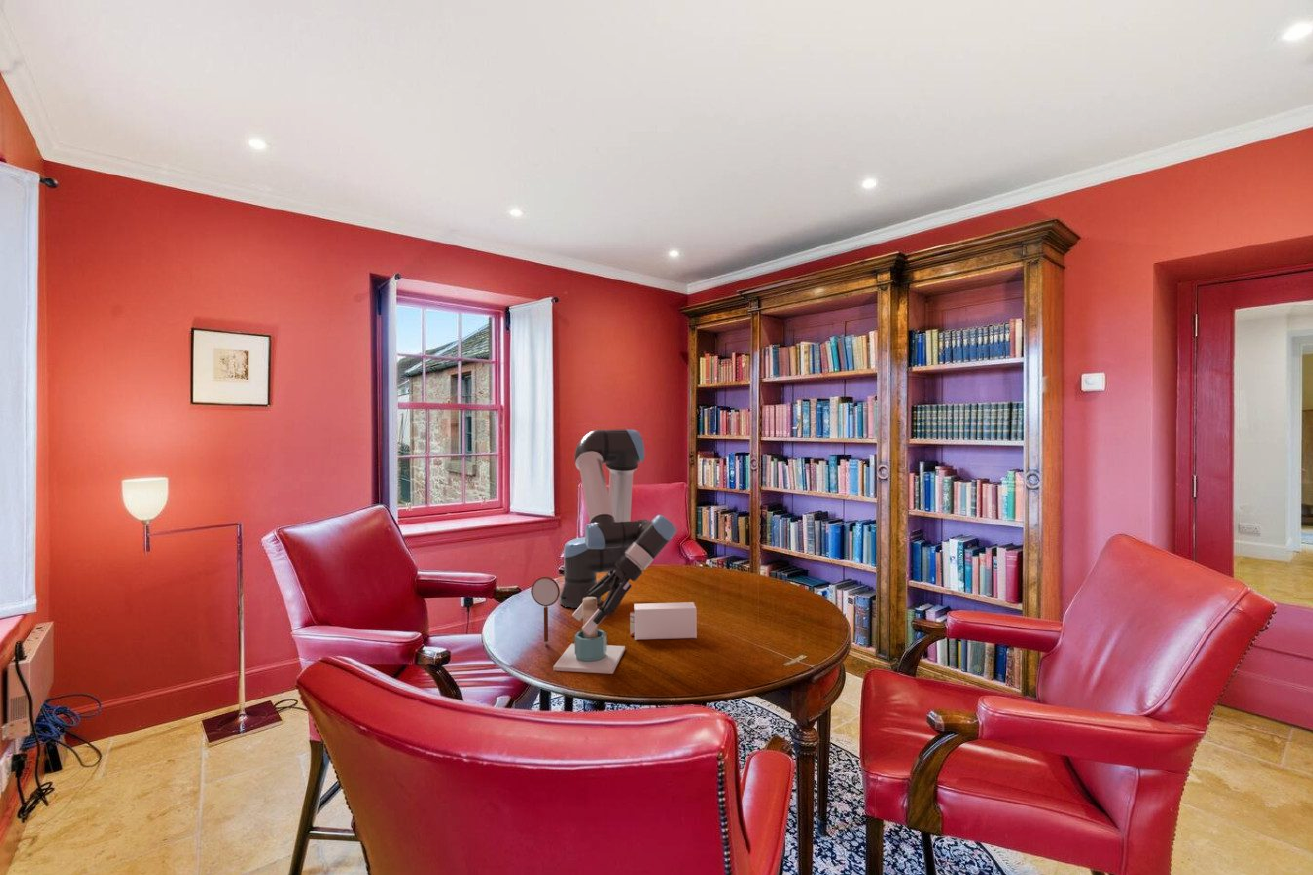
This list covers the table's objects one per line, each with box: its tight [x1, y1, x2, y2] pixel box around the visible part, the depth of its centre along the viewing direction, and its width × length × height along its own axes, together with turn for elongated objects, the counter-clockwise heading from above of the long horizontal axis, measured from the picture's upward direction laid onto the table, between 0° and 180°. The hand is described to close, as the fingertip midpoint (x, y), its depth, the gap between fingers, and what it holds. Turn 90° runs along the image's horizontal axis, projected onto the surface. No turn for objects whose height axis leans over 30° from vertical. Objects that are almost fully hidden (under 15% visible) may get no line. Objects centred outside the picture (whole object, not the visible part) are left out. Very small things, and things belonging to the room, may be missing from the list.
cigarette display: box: [629, 601, 698, 641], centre depth 169 cm, size 20×6×9 cm, turn 93°
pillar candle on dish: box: [582, 597, 599, 639], centre depth 153 cm, size 5×5×15 cm
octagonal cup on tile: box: [552, 628, 626, 675], centre depth 152 cm, size 16×16×7 cm
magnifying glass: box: [531, 576, 561, 645], centre depth 164 cm, size 9×2×20 cm, turn 82°
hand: (580, 624), depth 151 cm, fingers open, 11 cm apart
